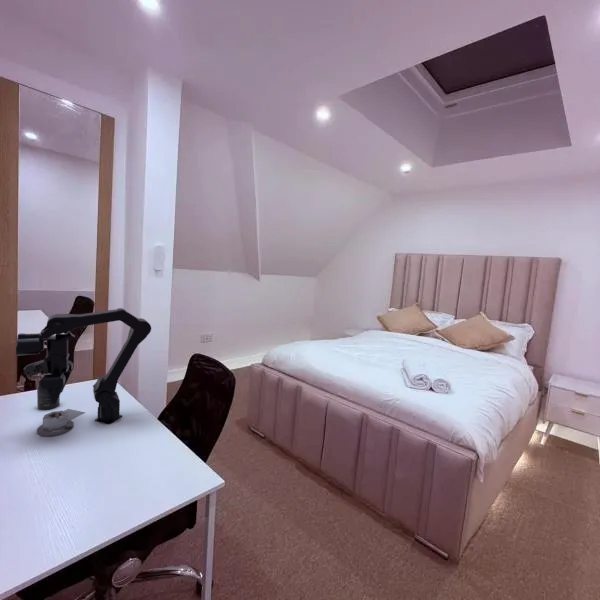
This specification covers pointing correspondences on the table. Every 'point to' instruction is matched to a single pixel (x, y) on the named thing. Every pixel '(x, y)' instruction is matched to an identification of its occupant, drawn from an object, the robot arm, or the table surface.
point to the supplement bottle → (45, 400)
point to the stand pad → (73, 413)
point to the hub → (55, 433)
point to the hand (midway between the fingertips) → (57, 397)
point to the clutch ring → (55, 421)
